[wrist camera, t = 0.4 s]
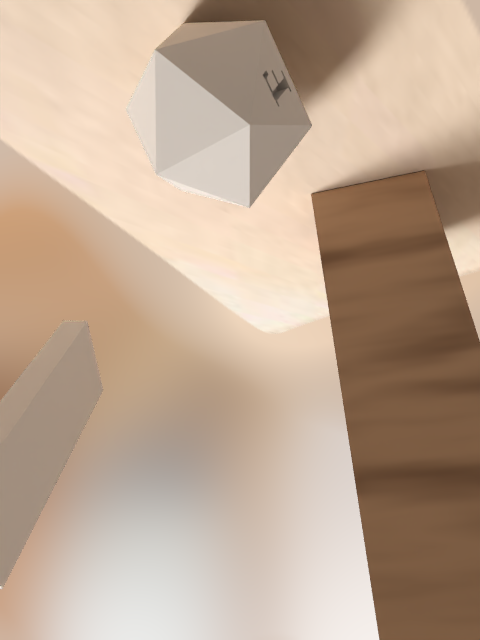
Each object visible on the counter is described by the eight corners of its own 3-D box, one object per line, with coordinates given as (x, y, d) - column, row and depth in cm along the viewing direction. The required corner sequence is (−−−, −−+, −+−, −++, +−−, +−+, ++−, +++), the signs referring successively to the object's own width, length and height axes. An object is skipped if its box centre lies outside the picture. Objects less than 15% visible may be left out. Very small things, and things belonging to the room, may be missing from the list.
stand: (311, 194, 33) (391, 720, 19) (424, 170, 32) (602, 725, 18) (321, 255, 40) (386, 677, 26) (414, 239, 39) (537, 678, 25)
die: (282, 131, 29) (365, 150, 21) (175, 210, 29) (218, 258, 21) (216, -4, 25) (289, -46, 17) (89, 89, 25) (102, 92, 17)
